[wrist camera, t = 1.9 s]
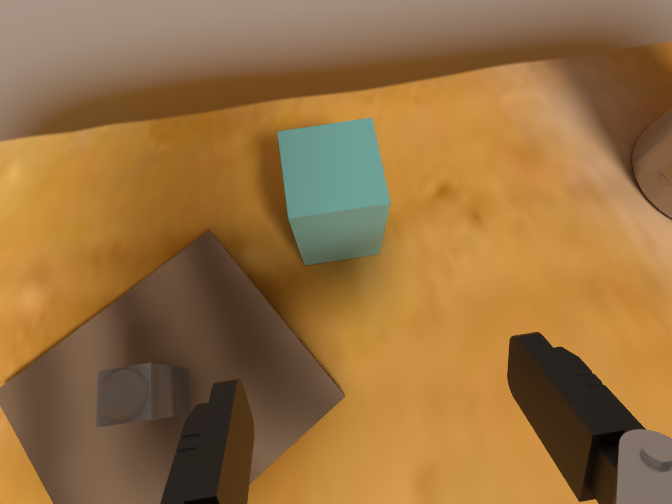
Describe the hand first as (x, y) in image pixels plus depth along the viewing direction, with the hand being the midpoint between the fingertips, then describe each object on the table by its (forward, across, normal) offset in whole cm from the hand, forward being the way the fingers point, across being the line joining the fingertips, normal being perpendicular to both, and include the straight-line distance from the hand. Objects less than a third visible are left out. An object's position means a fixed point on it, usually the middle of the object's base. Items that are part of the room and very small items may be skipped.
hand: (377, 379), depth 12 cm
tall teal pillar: (+18, 0, +2) cm, 18 cm away
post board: (+11, +12, +9) cm, 18 cm away
